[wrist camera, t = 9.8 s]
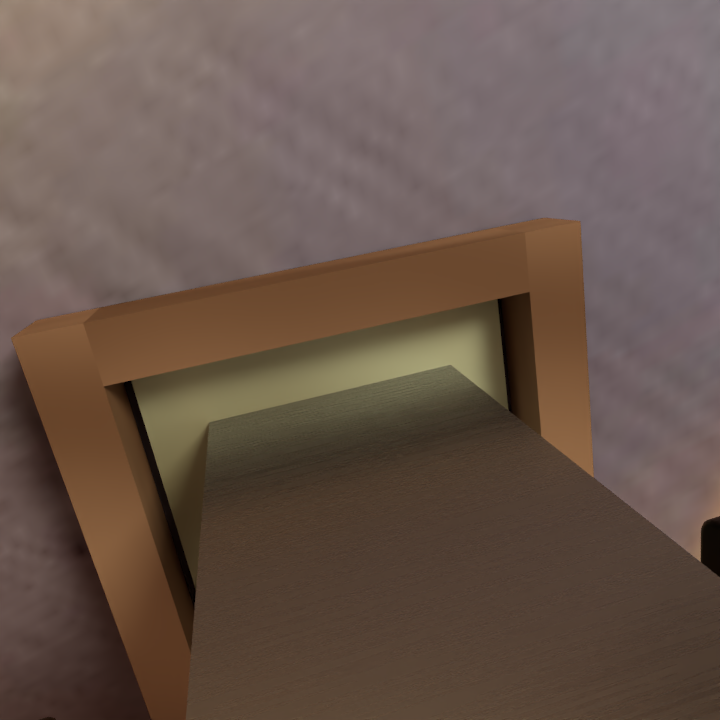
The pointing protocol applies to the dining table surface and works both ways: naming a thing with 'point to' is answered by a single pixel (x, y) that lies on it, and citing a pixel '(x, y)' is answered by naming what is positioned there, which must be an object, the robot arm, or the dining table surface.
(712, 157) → the dining table surface
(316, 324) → the wooden double frame
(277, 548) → the grey tall block
